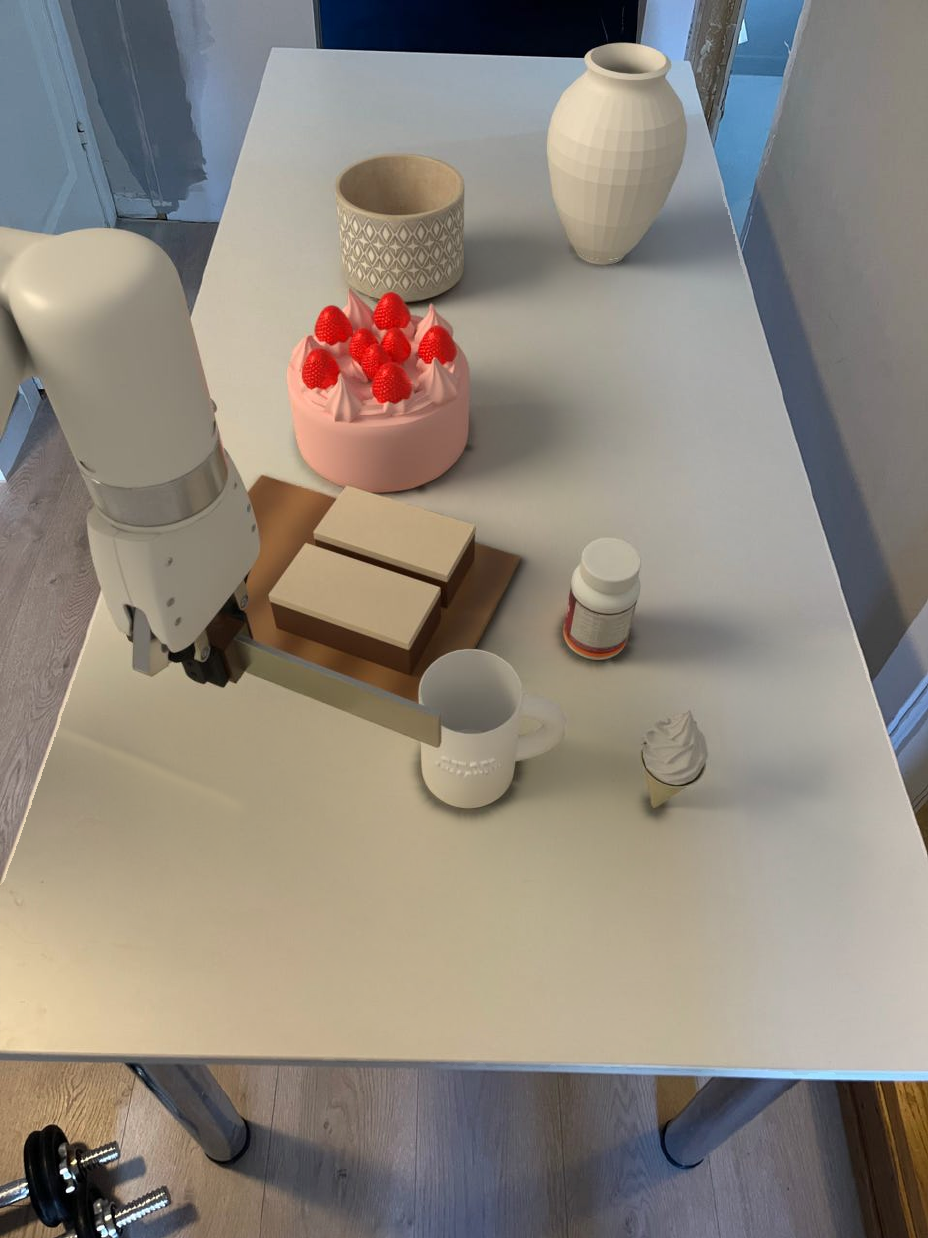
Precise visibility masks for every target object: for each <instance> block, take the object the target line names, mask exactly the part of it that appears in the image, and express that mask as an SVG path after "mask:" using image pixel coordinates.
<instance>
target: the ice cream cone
mask: <svg viewBox="0 0 928 1238" xmlns="http://www.w3.org/2000/svg"><path fill="white" fill-rule="evenodd" d="M643 740H644V741H643V743H642V744H640V753H639V754H640V755H639V756H640V757H639V758H640V763H641V764H642V767H643V769H644V774H645V779H646V785H647V789H648V794H649V799H650V805H651V808H654V809H657V808H658V807H659V806H661V805H662V804H664V803H666V802H667V801H669V800H670V799H671V798H674V796H676V795H677V794H679V793H680V792H682V791H683V790H685V789H687V787H691V786H692V785H694V784H695V783H697V782H698V781H699V780H700V779H702V778H703V776H704V774H705V771H706V767H707V760H708V757H709V751H708V745H707V740H706V737H705V736H704V734H703V732H702V731H701V730H700V729H699V727H698V725H697V721H696V720H695V719H694V716H693V713H692V709H688V710H686V711H684V712H683V713H681V714H680V715H678V716H676V717H674V716H668V717H666V721H664V720H657V721H656V722H655V723H653V725H652V726H651V730H650V731H648V732H646V733H644V736H643Z"/></svg>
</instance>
